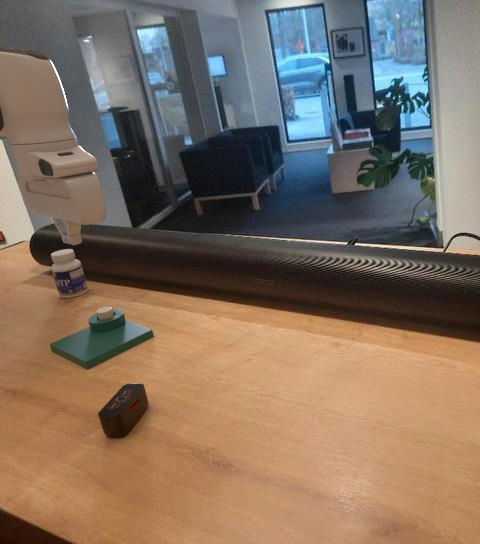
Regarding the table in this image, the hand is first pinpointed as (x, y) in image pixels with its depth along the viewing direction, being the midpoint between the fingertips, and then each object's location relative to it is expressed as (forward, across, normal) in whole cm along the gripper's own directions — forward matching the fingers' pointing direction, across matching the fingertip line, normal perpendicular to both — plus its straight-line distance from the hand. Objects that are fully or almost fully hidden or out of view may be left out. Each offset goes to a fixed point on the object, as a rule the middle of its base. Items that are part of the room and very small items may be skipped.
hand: (73, 243), depth 83 cm
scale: (+14, +10, -4) cm, 18 cm away
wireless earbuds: (+14, +32, -13) cm, 37 cm away
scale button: (+12, +7, -1) cm, 14 cm away
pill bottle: (+15, -17, +5) cm, 23 cm away
